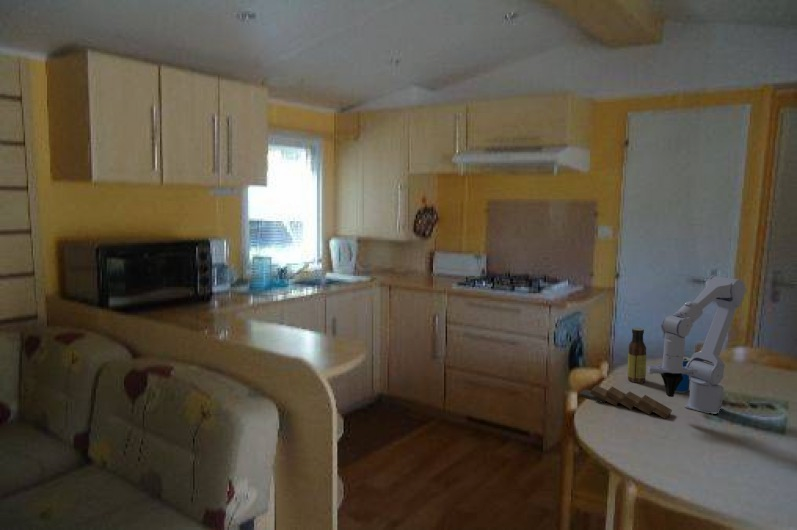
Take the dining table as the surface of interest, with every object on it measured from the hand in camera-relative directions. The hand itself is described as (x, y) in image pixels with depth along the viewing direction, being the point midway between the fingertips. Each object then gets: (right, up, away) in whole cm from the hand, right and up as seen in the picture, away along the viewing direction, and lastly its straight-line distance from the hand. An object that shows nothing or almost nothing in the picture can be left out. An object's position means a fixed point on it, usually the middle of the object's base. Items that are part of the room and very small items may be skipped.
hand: (669, 395), depth 178 cm
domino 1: (-15, -5, +13) cm, 20 cm away
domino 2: (-12, -4, +11) cm, 17 cm away
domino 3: (-8, -5, +8) cm, 12 cm away
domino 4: (-4, -6, +4) cm, 8 cm away
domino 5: (0, -6, +1) cm, 6 cm away
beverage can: (+15, -4, +24) cm, 28 cm away
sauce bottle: (+3, -2, +34) cm, 34 cm away
